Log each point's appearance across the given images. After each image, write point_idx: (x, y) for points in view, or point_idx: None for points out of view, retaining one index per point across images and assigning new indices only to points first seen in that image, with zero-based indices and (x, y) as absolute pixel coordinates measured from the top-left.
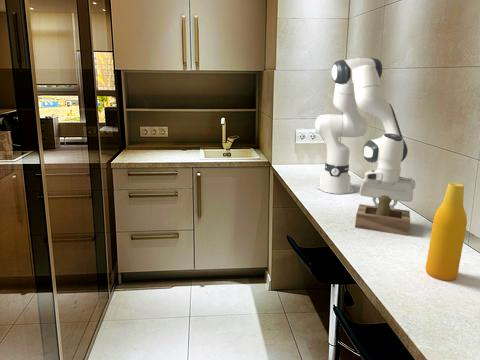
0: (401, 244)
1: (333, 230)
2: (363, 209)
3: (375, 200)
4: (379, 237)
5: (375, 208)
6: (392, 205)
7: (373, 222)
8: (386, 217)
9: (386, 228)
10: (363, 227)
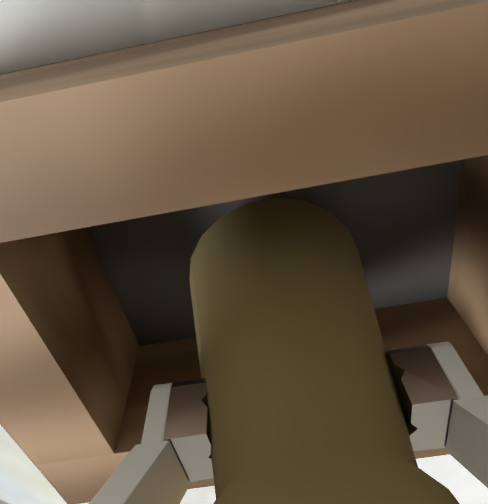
0: (432, 457)
1: (28, 480)
2: (27, 365)
3: (135, 496)
4: None
5: (131, 215)
6: (456, 442)
7: None
8: None
9: None
10: None
